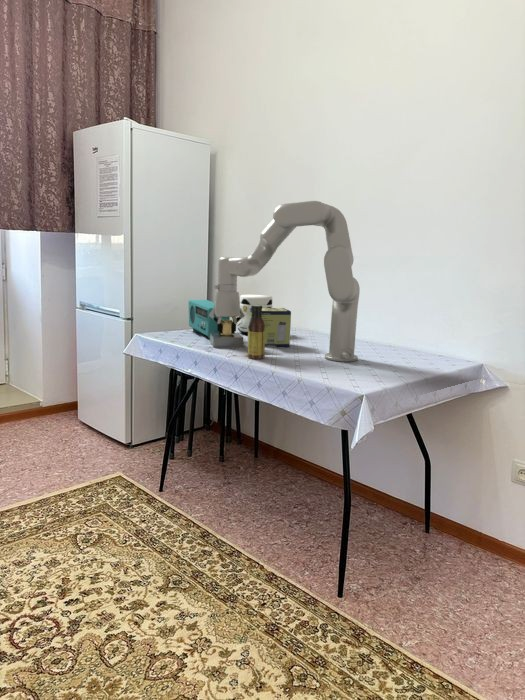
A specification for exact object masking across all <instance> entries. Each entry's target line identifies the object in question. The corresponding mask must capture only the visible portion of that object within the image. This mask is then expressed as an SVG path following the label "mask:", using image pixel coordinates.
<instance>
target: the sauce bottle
mask: <svg viewBox="0 0 525 700" xmlns="http://www.w3.org/2000/svg"><path fill="white" fill-rule="evenodd" d="M251 309H252V315H251V320H250V323H249V326H248V334H247V357H248V358H249V359H252V360H262V359H264V358H265V353H266V352H265V350H266V349H265V348H266V345H265V324H264V321H263V319H262V305H251Z"/></svg>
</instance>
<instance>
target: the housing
mask: <svg viewBox="0 0 525 700" xmlns="http://www.w3.org/2000/svg"><path fill="white" fill-rule="evenodd" d="M209 343H210V344H211V346H212V348H214V349H215V348H220V349H221V348H223V349H224V348H226V349H227V348H240V349H241V348H244V336H243V335H241V334H240V332H235V334H233V333H232V336H221V334H219V333H210V339H209Z"/></svg>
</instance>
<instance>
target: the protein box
mask: <svg viewBox="0 0 525 700" xmlns="http://www.w3.org/2000/svg"><path fill="white" fill-rule="evenodd" d="M251 315H252V309H251V308H250V320H251ZM262 319H263V321H264V324H265V346H274V347H276V348H277V347H284V348H290V344H291V326H292V325H291V324H292V322H291V321H292V311H291V310H289V309H287V308H285V307H272V308H262Z"/></svg>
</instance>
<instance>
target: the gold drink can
mask: <svg viewBox="0 0 525 700" xmlns="http://www.w3.org/2000/svg"><path fill="white" fill-rule="evenodd" d="M232 330H233V319H230V320H221V336H232Z"/></svg>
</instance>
